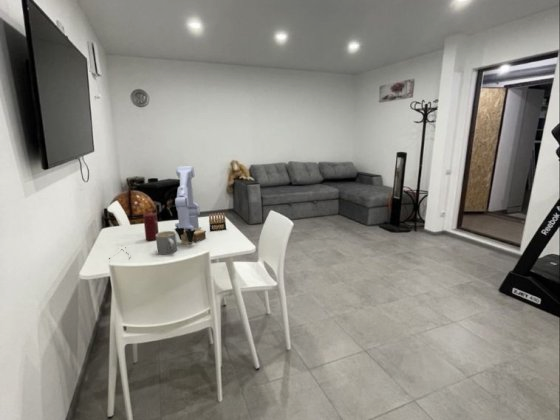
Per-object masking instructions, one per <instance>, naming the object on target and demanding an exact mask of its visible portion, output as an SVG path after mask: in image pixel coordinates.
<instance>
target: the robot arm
mask: <svg viewBox="0 0 560 420" xmlns="http://www.w3.org/2000/svg"><path fill="white" fill-rule="evenodd" d="M194 168H195V167H194V166H193V165H186V166H184V165H183V166H179V165H177V166H176V168H175V173H176V176H177V178H179V186H178V187H177V192H176V198H175V199H174V201H175V202H174V204H175V209H176V211H177V219H178V222H177V223H175V225H174V226H175V228H174V232H175V233H176V234H177V235H178V238H179V240H180V241H181V235H183V234H184V229H188V230H187V231H185V232H186V234H187V237H188V241H189V242H193V241H192V240H193V235H194V232H195V228H196V229H200V230H203V228H202V227H200V225H199V216H200V214H201V211H200V205H199V203H197V202H195V200H194V192H193V190H194V189H193V182H192V179H193V178H194V177H195V169H194ZM194 226H195V228H194Z"/></svg>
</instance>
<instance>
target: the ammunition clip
mask: <svg viewBox="0 0 560 420" xmlns="http://www.w3.org/2000/svg"><path fill="white" fill-rule="evenodd" d="M208 218H209V219H208V222H209V225H208V226H209V232H210V233H213V232H218V231H219V232H220V231H227V223H226V216H225V212H224V211H223V213H222V212H220V213H219V212H217V213H216V212H214V213H209V215H208Z"/></svg>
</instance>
